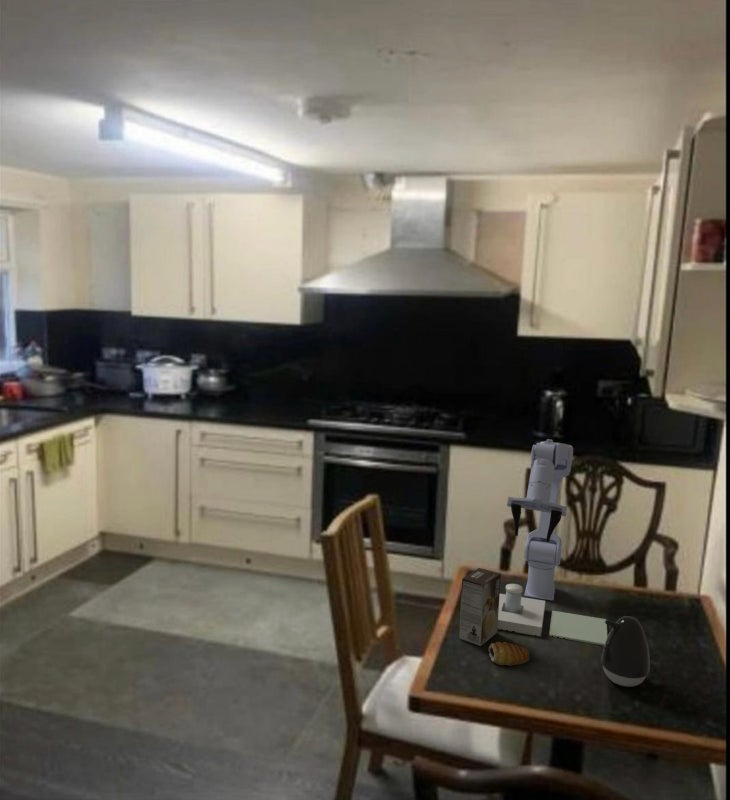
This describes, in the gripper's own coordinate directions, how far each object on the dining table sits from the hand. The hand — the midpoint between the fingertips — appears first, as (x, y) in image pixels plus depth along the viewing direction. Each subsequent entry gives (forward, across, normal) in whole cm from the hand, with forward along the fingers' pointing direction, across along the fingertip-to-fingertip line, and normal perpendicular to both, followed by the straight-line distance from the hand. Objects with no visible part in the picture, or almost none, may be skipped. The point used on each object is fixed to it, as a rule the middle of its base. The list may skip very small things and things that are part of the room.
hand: (531, 537), depth 174 cm
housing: (+15, -3, +23) cm, 28 cm away
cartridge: (+15, -3, +23) cm, 28 cm away
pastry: (+29, -2, +6) cm, 29 cm away
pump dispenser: (+28, +24, +6) cm, 37 cm away
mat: (+14, +14, +23) cm, 31 cm away
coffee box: (+24, -10, +13) cm, 29 cm away
